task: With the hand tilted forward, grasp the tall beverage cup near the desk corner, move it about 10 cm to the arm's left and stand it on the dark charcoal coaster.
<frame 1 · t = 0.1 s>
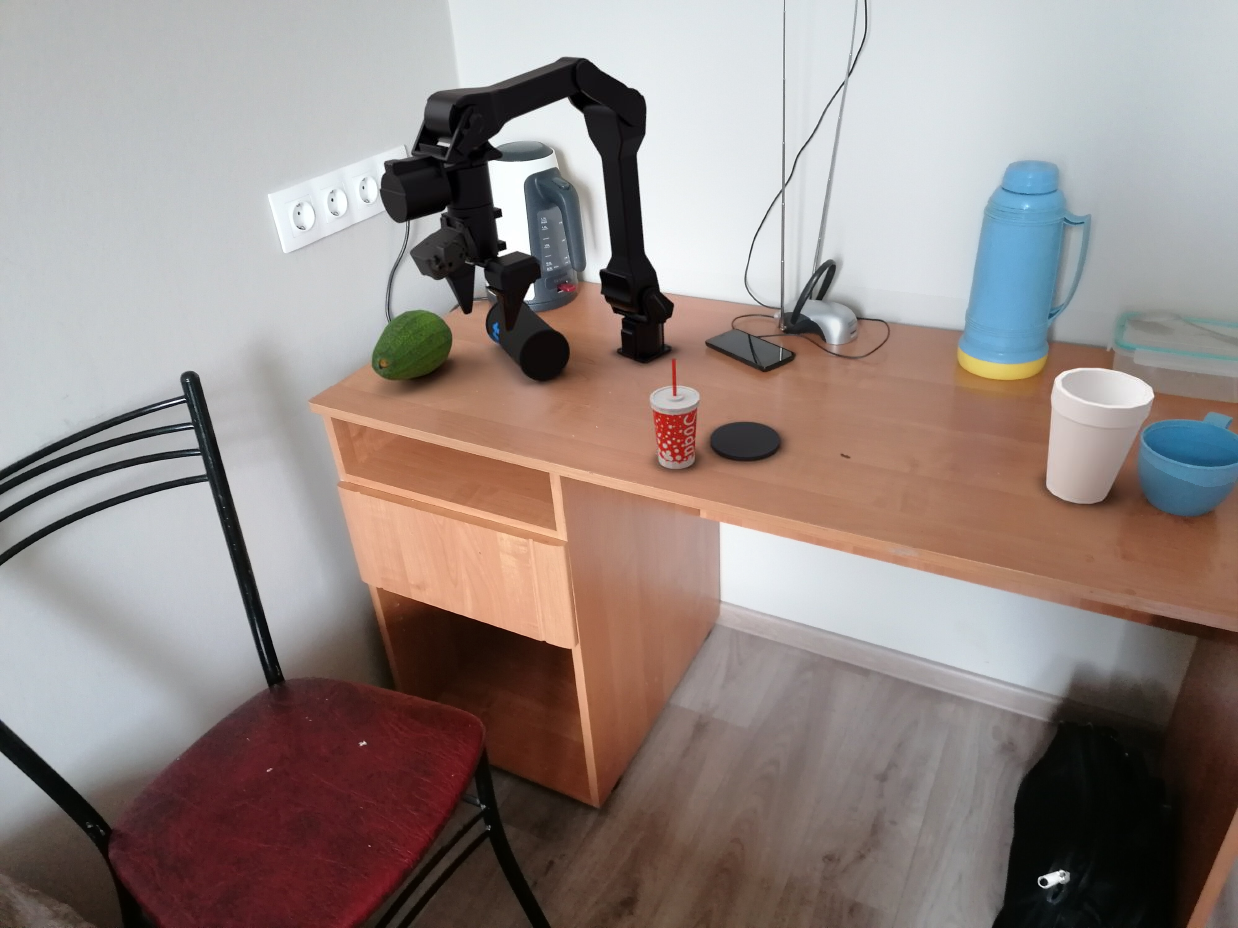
hand: (488, 322, 112), 15 cm above the table, tool pointing down, fingers open, 9 cm apart
coaster: (744, 442, 111), on the table
beverage cup: (676, 460, 108), on the table
foam cup: (1075, 489, 98), on the table
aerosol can: (545, 356, 127), point 4 cm above the table
fruit: (416, 376, 134), on the table
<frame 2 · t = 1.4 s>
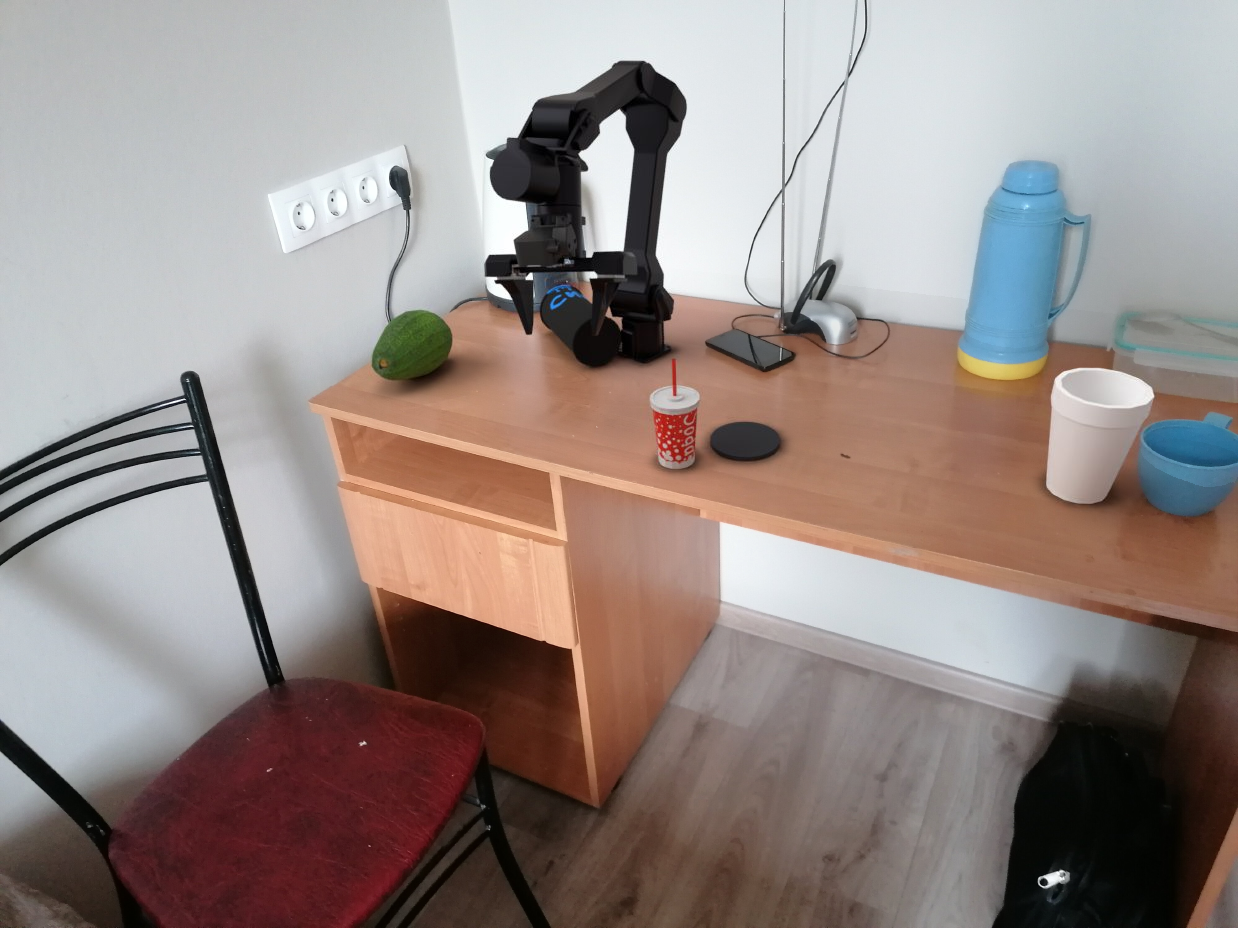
hand: (561, 335, 108), 14 cm above the table, tool tilted 20°, fingers open, 9 cm apart
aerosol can: (598, 342, 130), point 4 cm above the table
everything else where it was.
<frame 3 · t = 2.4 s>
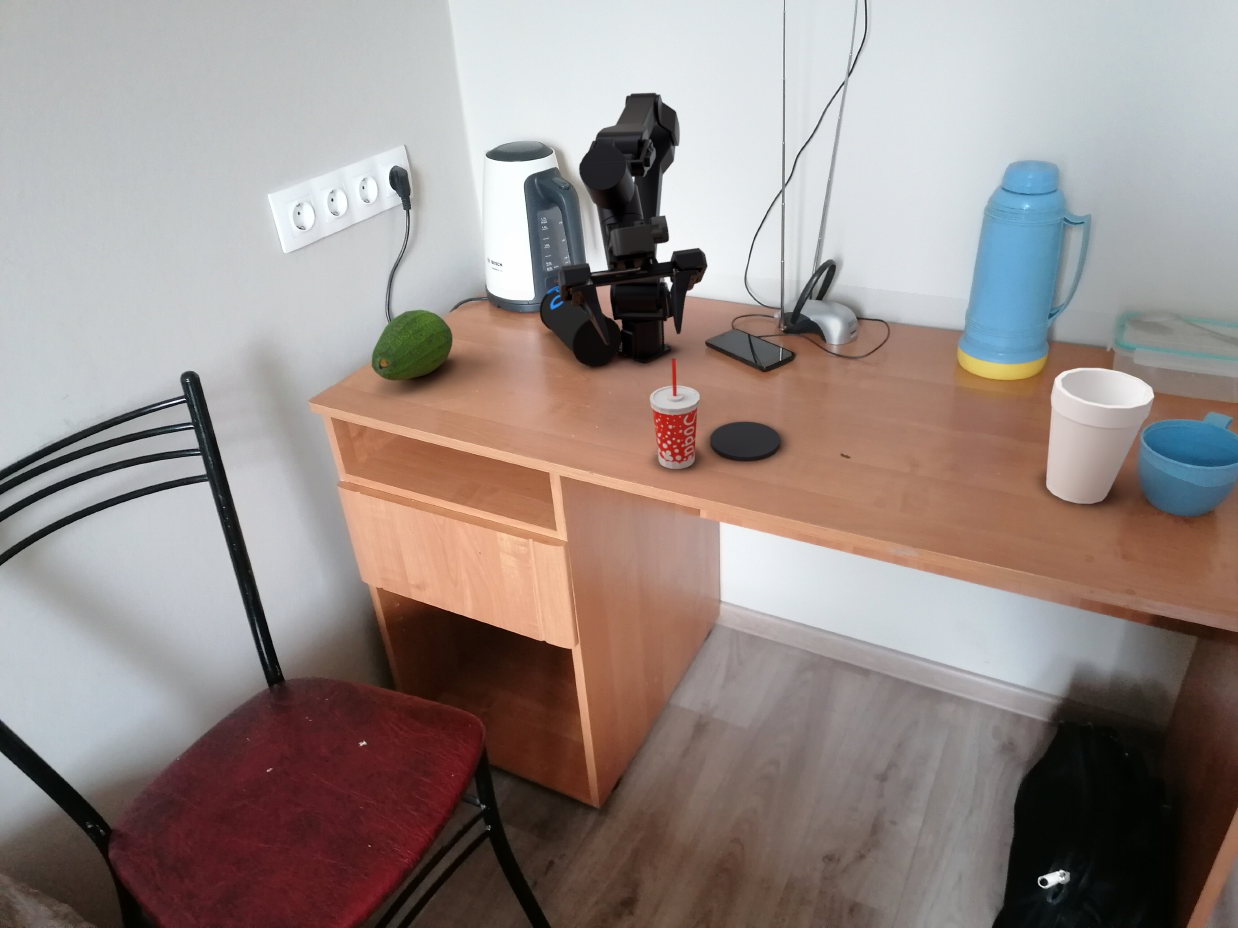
hand: (643, 338, 108), 13 cm above the table, tool tilted 40°, fingers open, 9 cm apart
nothing on the table moved.
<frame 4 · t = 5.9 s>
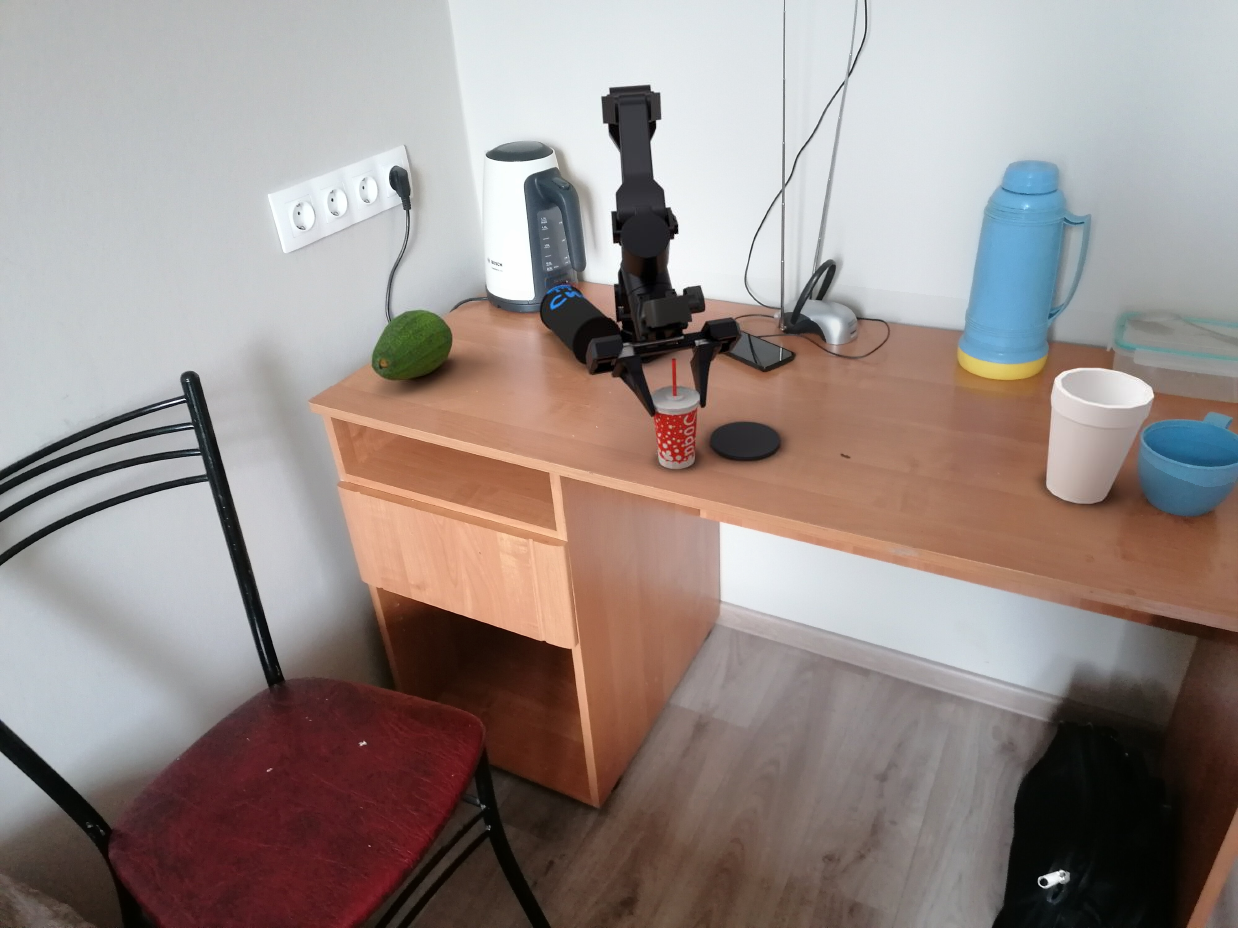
hand: (678, 411, 103), 8 cm above the table, tool tilted 45°, fingers closed on beverage cup, 6 cm apart
beverage cup: (676, 460, 108), on the table, touching gripper
everything else where it was.
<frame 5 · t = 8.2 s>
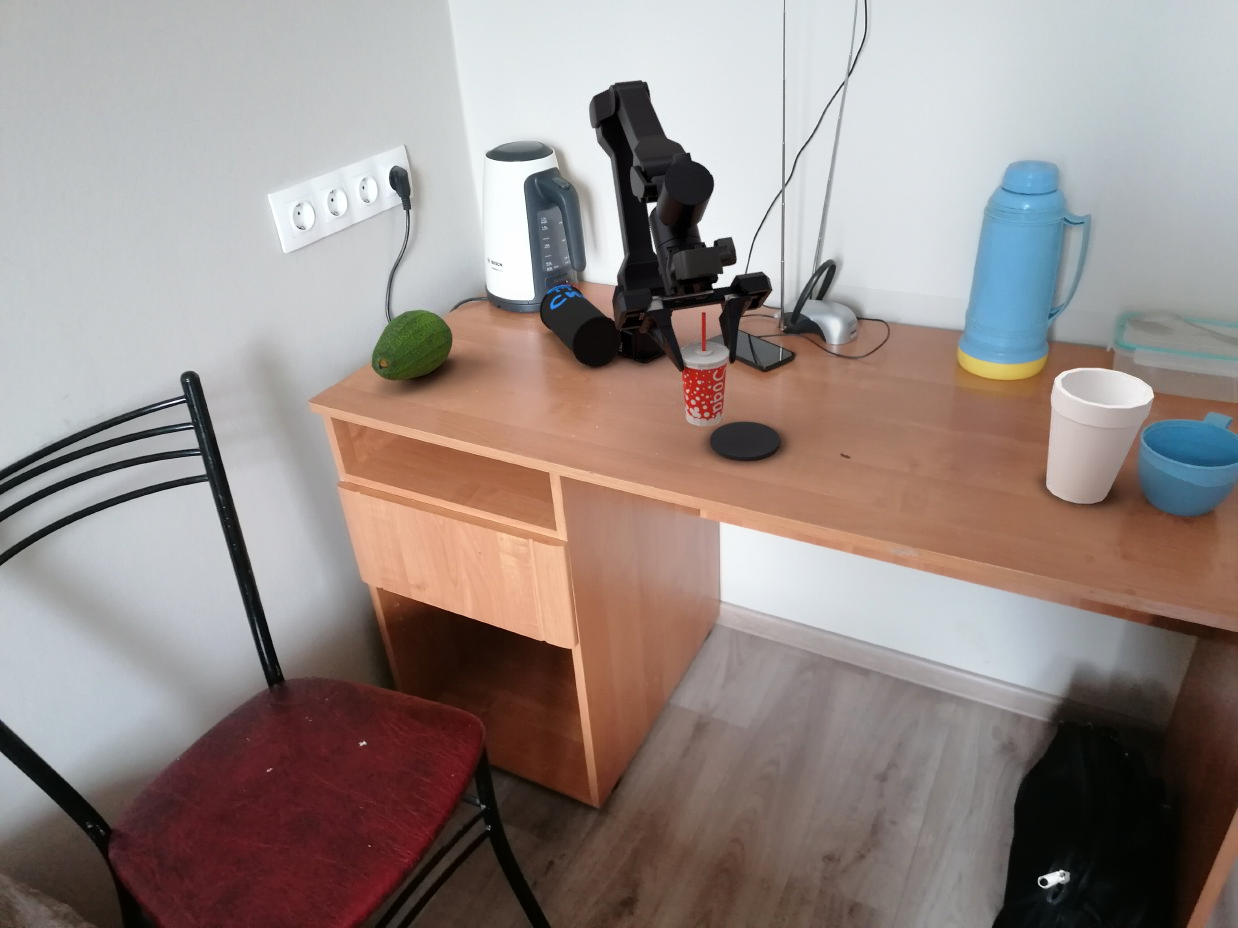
hand: (707, 366, 101), 13 cm above the table, tool tilted 45°, fingers closed on beverage cup, 6 cm apart
beverage cup: (704, 418, 107), point 5 cm above the table, touching gripper
everything else where it was.
when the fingers open (8 cm above the table, at t = 10.9 s): beverage cup stays where it is, resting on coaster.
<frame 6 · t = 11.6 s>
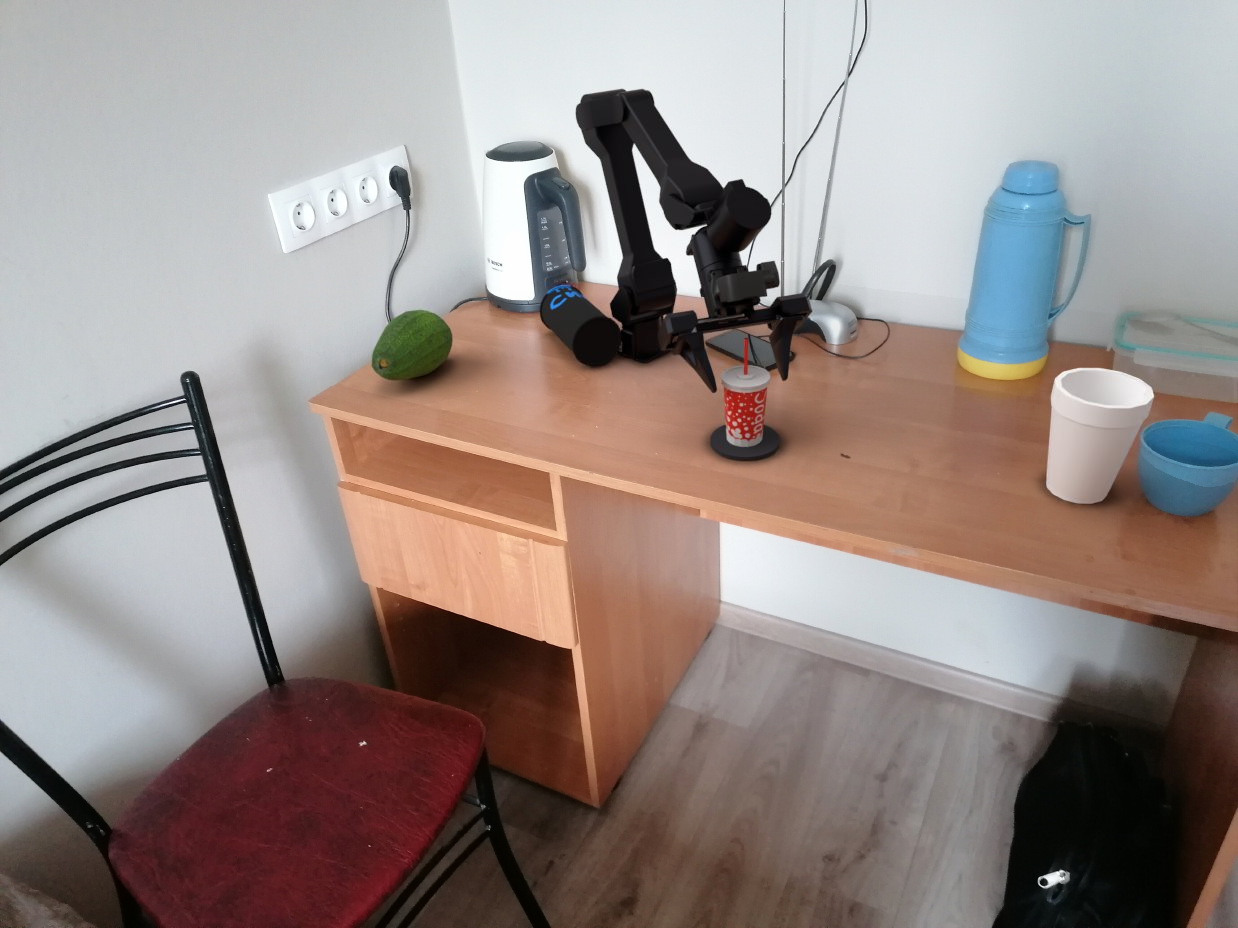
hand: (750, 385, 105), 9 cm above the table, tool tilted 45°, fingers open, 9 cm apart
beverage cup: (744, 439, 111), resting on coaster
everything else where it was.
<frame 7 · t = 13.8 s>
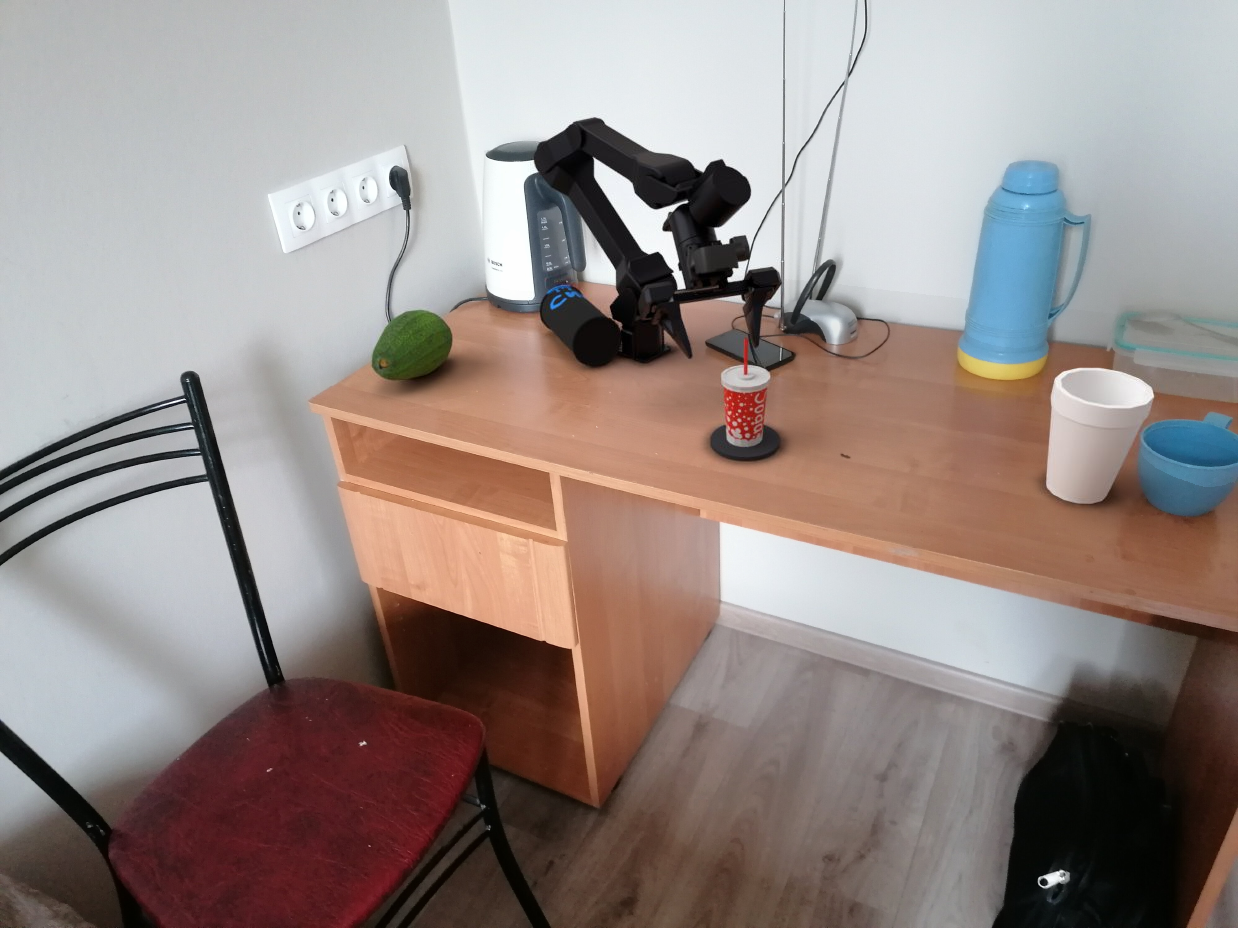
hand: (723, 352, 112), 9 cm above the table, tool tilted 45°, fingers open, 9 cm apart
nothing on the table moved.
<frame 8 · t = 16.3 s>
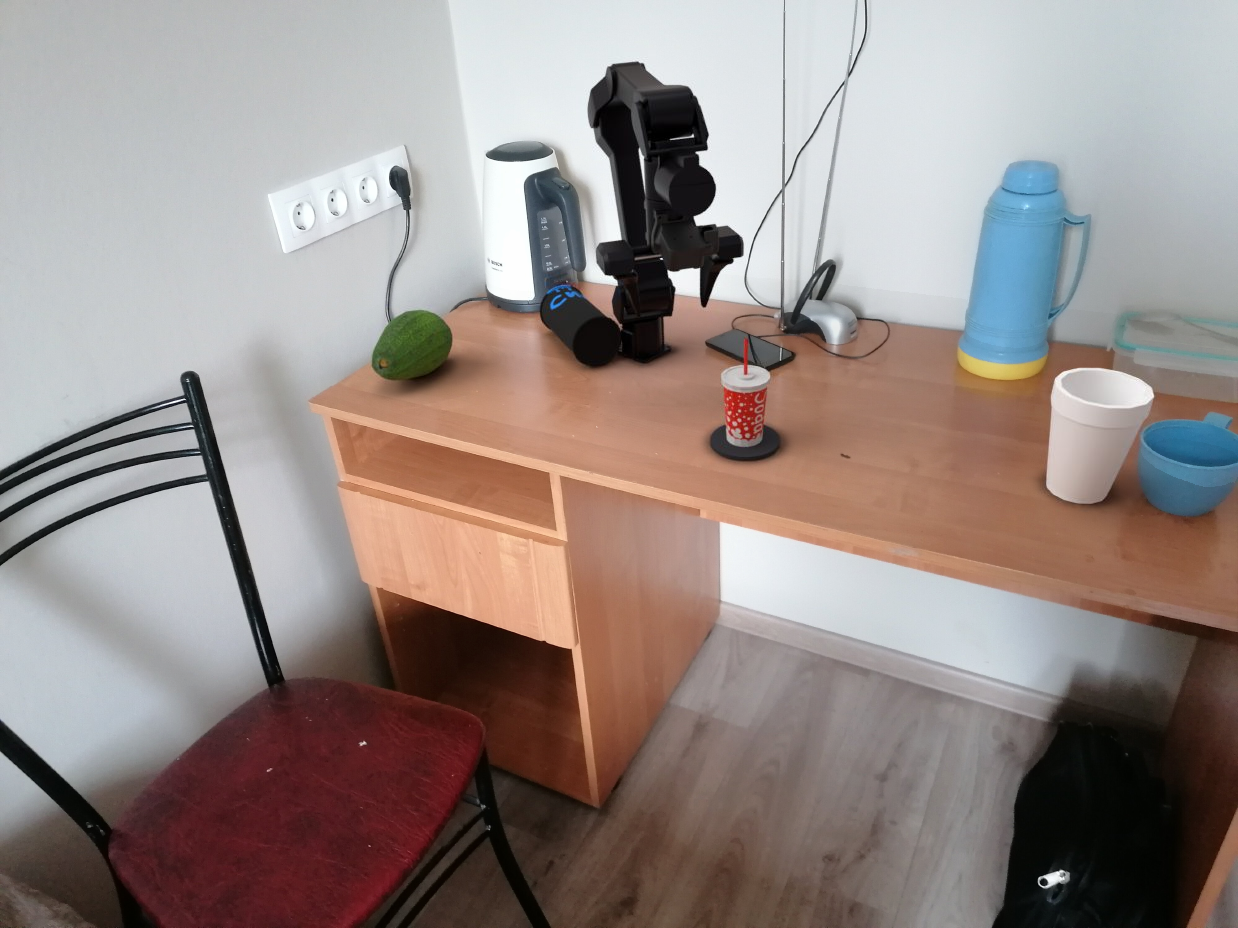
hand: (671, 311, 116), 13 cm above the table, tool pointing down, fingers open, 9 cm apart
nothing on the table moved.
at the end: beverage cup 0.2 cm off-centre on the coaster, point 0.4 cm above the coaster's base; beverage cup tilted 0°; the gripper is holding nothing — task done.
